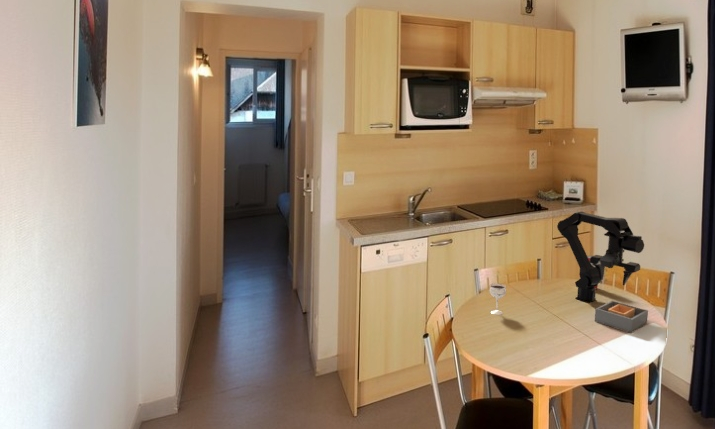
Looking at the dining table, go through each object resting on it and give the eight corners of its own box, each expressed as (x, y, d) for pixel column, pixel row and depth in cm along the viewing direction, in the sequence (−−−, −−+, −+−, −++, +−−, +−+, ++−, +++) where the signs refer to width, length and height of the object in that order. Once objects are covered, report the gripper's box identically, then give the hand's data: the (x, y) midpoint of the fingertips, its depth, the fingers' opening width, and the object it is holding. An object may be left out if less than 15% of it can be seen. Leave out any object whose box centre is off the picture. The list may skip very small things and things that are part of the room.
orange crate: (607, 320, 184) (608, 309, 184) (617, 315, 190) (618, 303, 189) (623, 326, 179) (624, 314, 178) (633, 320, 185) (635, 308, 184)
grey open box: (594, 321, 186) (595, 308, 185) (611, 312, 194) (612, 300, 193) (630, 333, 175) (632, 319, 174) (646, 323, 183) (648, 310, 182)
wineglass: (487, 313, 196) (488, 287, 193) (490, 308, 202) (491, 282, 199) (503, 316, 193) (504, 289, 190) (506, 310, 198) (507, 284, 196)
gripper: (584, 246, 196) (581, 280, 199) (630, 255, 182) (626, 292, 185) (597, 242, 203) (594, 275, 206) (642, 250, 188) (639, 286, 191)
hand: (612, 282), depth 197 cm, fingers open, 9 cm apart
